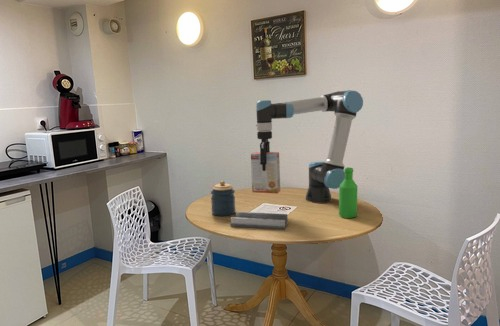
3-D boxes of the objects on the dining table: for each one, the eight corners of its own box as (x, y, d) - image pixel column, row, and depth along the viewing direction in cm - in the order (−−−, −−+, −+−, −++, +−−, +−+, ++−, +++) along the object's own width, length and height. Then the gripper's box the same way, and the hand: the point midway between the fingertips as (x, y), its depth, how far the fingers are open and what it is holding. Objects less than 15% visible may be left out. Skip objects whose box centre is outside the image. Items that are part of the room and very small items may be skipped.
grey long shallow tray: (287, 221, 170) (287, 213, 170) (284, 229, 159) (284, 221, 158) (237, 218, 176) (237, 210, 176) (230, 226, 165) (230, 218, 164)
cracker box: (280, 191, 182) (279, 151, 178) (277, 194, 176) (276, 153, 172) (255, 189, 186) (254, 151, 182) (251, 192, 180) (250, 153, 177)
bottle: (347, 219, 170) (348, 170, 166) (335, 215, 178) (336, 167, 173) (360, 216, 174) (361, 168, 170) (348, 212, 182) (349, 165, 177)
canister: (207, 215, 183) (205, 183, 180) (217, 208, 195) (216, 177, 192) (229, 217, 178) (228, 184, 175) (239, 210, 190) (238, 179, 187)
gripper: (261, 129, 186) (262, 171, 189) (253, 132, 167) (254, 179, 171) (274, 129, 184) (275, 171, 188) (268, 132, 165) (269, 179, 169)
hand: (265, 175), depth 179 cm, fingers closed on cracker box, 6 cm apart
